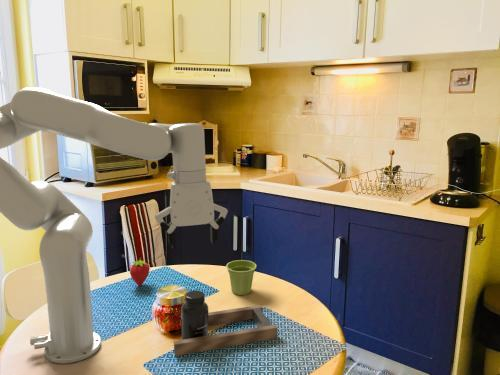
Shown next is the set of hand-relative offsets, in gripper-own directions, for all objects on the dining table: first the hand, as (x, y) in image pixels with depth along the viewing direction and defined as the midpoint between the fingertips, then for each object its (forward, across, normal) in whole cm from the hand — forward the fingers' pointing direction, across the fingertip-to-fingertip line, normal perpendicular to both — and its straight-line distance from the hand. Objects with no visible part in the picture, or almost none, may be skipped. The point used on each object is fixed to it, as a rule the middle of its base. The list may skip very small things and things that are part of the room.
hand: (193, 245), depth 104 cm
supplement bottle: (+25, -1, 0) cm, 25 cm away
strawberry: (+24, -14, +34) cm, 44 cm away
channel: (+25, +6, 0) cm, 26 cm away
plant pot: (+25, +17, +23) cm, 38 cm away
